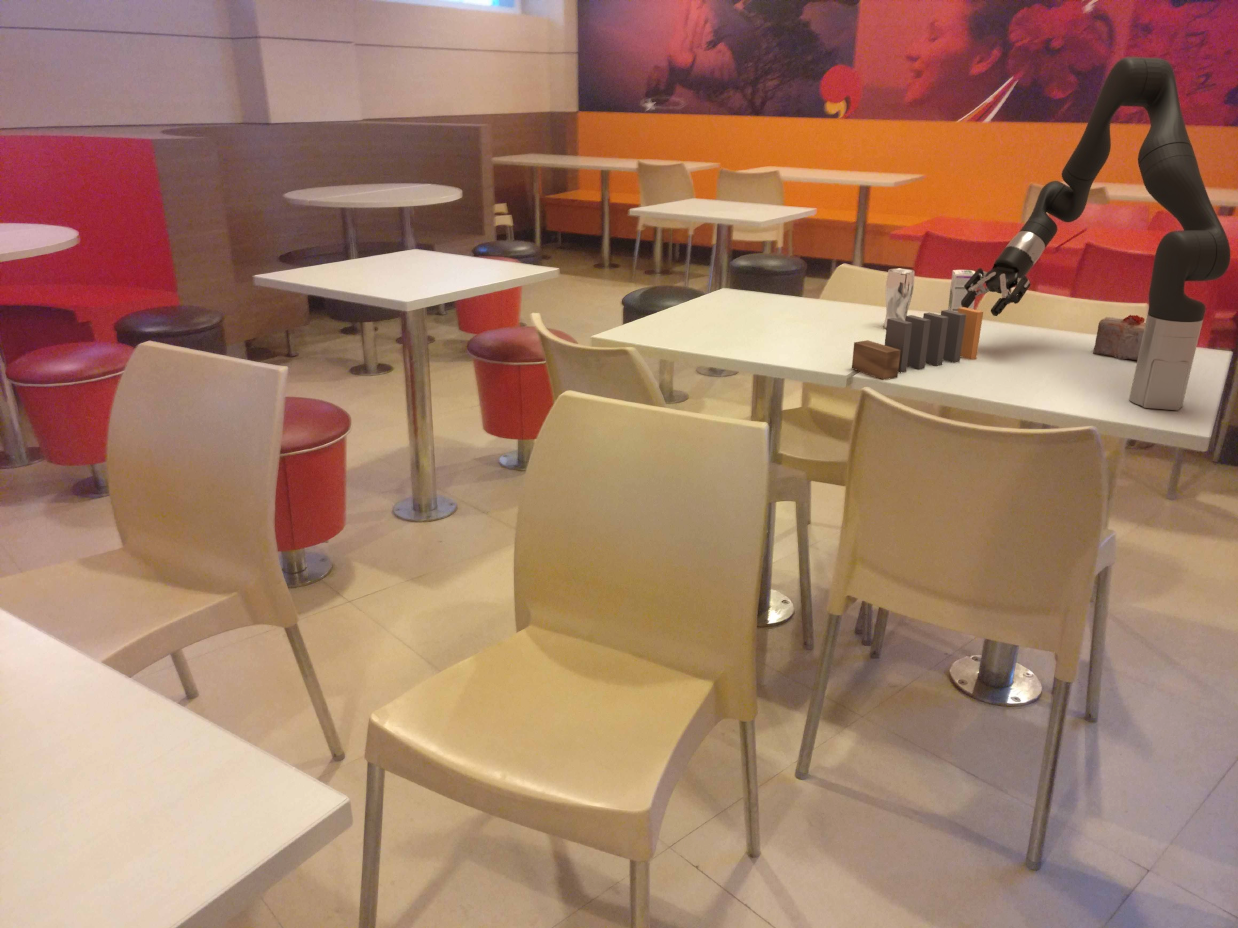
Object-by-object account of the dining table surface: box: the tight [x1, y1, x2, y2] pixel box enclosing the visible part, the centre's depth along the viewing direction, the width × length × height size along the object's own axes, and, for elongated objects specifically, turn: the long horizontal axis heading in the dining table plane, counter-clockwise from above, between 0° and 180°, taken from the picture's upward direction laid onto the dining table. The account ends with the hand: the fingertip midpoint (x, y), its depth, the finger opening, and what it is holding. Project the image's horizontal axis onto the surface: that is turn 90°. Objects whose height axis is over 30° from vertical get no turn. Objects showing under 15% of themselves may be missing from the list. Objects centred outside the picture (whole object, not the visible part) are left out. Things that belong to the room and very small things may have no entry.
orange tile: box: [958, 307, 984, 360], centre depth 208 cm, size 2×6×11 cm, turn 29°
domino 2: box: [905, 314, 931, 370], centre depth 201 cm, size 2×6×11 cm, turn 28°
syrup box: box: [947, 269, 977, 312], centre depth 235 cm, size 6×6×14 cm
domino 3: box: [922, 312, 949, 367], centre depth 203 cm, size 2×6×11 cm, turn 28°
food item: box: [1092, 314, 1146, 361], centre depth 208 cm, size 14×8×10 cm, turn 47°
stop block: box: [851, 339, 901, 380], centre depth 197 cm, size 4×10×6 cm, turn 28°
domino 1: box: [884, 318, 912, 374], centre depth 199 cm, size 2×6×11 cm, turn 29°
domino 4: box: [940, 309, 966, 364], centre depth 206 cm, size 2×6×11 cm, turn 29°
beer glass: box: [882, 268, 915, 330], centre depth 234 cm, size 7×7×15 cm
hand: (978, 310), depth 207 cm, fingers open, 8 cm apart
